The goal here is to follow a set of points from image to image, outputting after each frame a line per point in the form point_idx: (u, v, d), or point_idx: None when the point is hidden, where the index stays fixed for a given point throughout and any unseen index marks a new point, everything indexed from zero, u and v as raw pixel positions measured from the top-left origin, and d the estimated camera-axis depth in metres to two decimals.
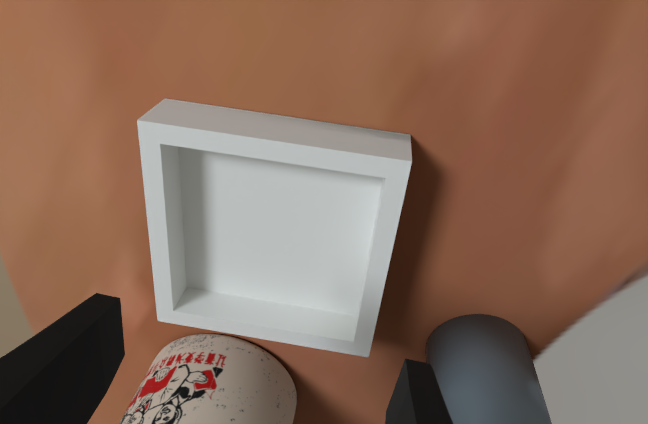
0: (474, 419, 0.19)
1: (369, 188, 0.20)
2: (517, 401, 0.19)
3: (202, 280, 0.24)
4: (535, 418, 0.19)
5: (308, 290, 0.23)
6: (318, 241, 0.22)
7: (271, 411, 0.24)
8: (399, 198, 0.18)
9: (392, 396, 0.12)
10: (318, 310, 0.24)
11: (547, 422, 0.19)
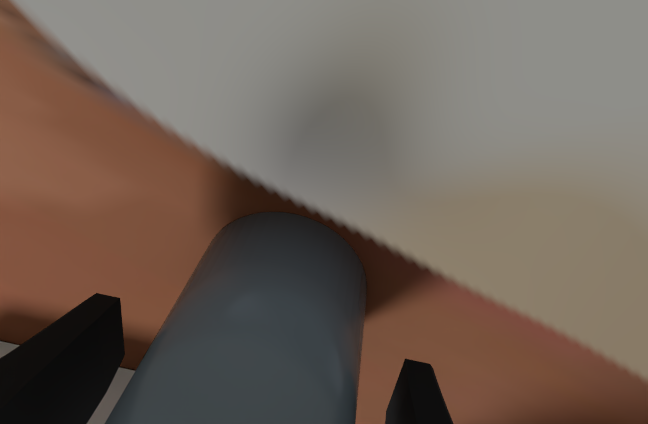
0: None
1: None
2: None
3: None
4: (125, 388, 0.10)
5: None
6: None
7: None
8: None
9: (392, 396, 0.12)
10: None
11: (150, 361, 0.10)
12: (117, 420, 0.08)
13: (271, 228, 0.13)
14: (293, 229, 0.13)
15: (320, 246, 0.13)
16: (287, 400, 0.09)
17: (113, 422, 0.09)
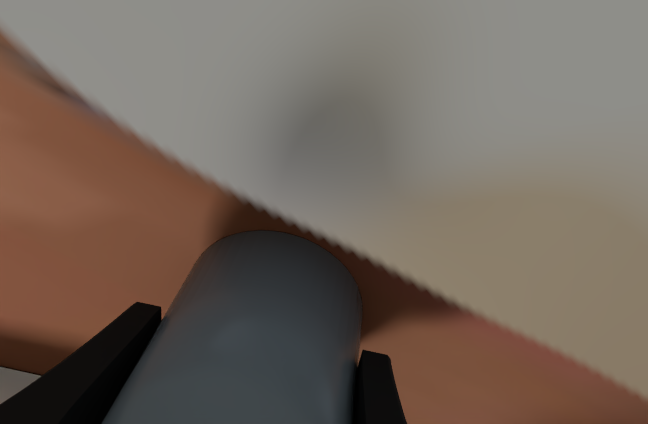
0: None
1: None
2: None
3: None
4: None
5: None
6: None
7: None
8: None
9: None
10: None
11: (122, 404, 0.09)
12: None
13: (259, 249, 0.12)
14: (283, 250, 0.12)
15: (312, 269, 0.12)
16: None
17: None
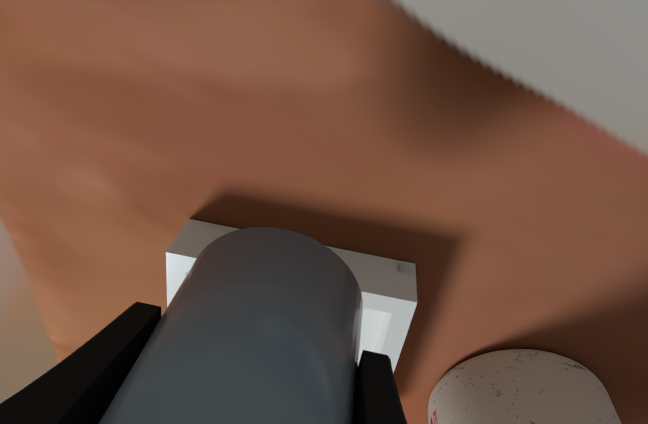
0: None
1: None
2: None
3: None
4: None
5: None
6: None
7: (492, 407, 0.20)
8: None
9: None
10: (383, 318, 0.22)
11: (123, 398, 0.09)
12: None
13: (260, 245, 0.12)
14: (283, 246, 0.12)
15: (312, 264, 0.12)
16: None
17: None
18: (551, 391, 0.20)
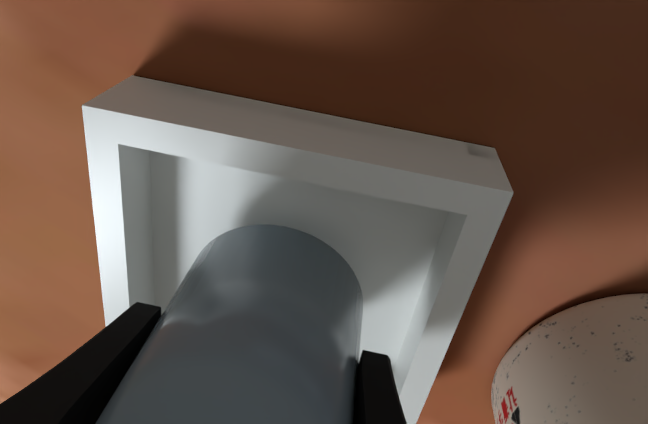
0: None
1: None
2: None
3: None
4: (97, 420, 0.09)
5: (396, 247, 0.14)
6: (300, 221, 0.14)
7: (623, 378, 0.12)
8: (147, 124, 0.11)
9: None
10: (439, 239, 0.14)
11: (125, 390, 0.09)
12: None
13: (261, 242, 0.12)
14: (284, 243, 0.12)
15: (313, 261, 0.12)
16: None
17: None
18: None
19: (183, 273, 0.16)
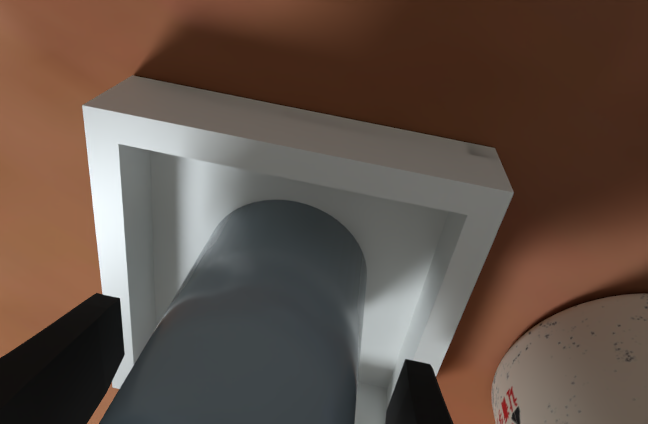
0: None
1: None
2: None
3: (375, 369, 0.17)
4: (133, 366, 0.10)
5: (396, 247, 0.14)
6: None
7: (623, 378, 0.12)
8: (148, 124, 0.11)
9: (392, 396, 0.12)
10: (440, 239, 0.14)
11: (157, 339, 0.10)
12: (127, 393, 0.09)
13: (274, 215, 0.13)
14: (295, 216, 0.13)
15: (322, 232, 0.13)
16: (292, 374, 0.09)
17: (123, 395, 0.09)
18: None
19: (183, 273, 0.16)
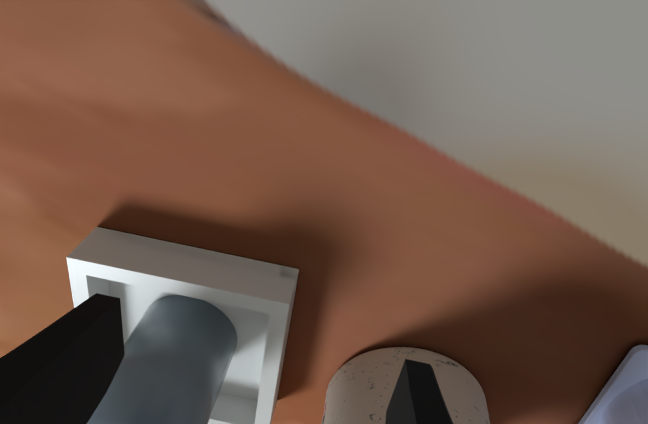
0: None
1: None
2: None
3: (252, 389, 0.27)
4: None
5: (250, 321, 0.24)
6: None
7: (364, 398, 0.23)
8: (100, 267, 0.21)
9: (392, 396, 0.12)
10: None
11: None
12: None
13: (175, 306, 0.23)
14: (187, 306, 0.23)
15: (201, 316, 0.23)
16: (163, 401, 0.19)
17: None
18: None
19: (130, 332, 0.26)
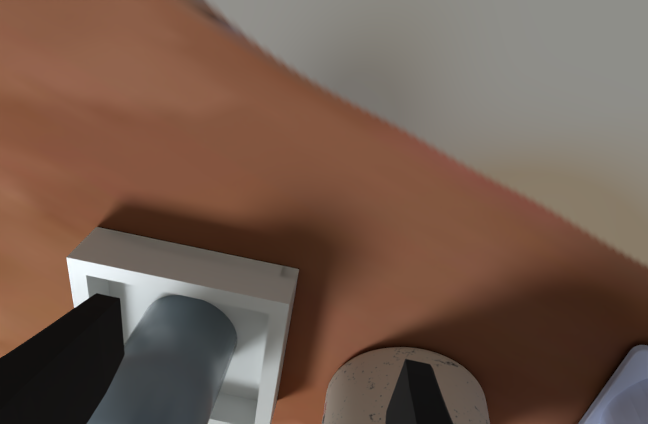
0: None
1: None
2: None
3: (252, 389, 0.27)
4: None
5: (251, 321, 0.24)
6: None
7: (364, 399, 0.23)
8: (100, 267, 0.21)
9: (392, 396, 0.12)
10: None
11: None
12: None
13: (175, 306, 0.23)
14: (187, 307, 0.23)
15: (201, 316, 0.23)
16: (163, 401, 0.19)
17: None
18: None
19: (130, 332, 0.26)
